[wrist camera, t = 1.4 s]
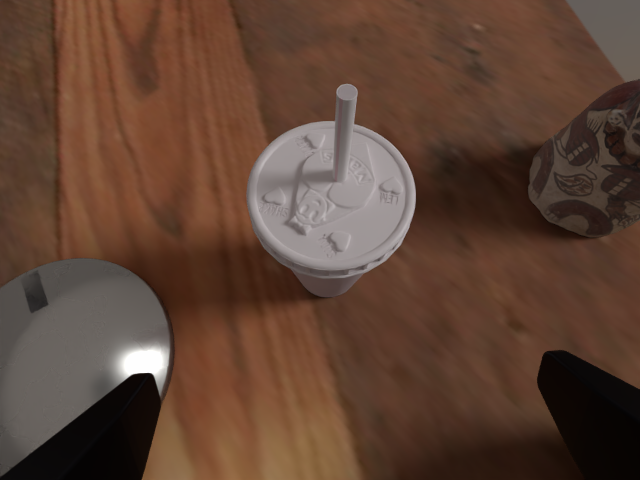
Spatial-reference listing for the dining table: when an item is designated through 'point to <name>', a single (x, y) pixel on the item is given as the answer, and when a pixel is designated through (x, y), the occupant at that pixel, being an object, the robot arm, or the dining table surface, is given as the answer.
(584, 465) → the robot arm
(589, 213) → the figurine
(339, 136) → the smoothie
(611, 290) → the dining table surface
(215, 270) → the dining table surface
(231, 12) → the dining table surface
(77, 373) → the pad
